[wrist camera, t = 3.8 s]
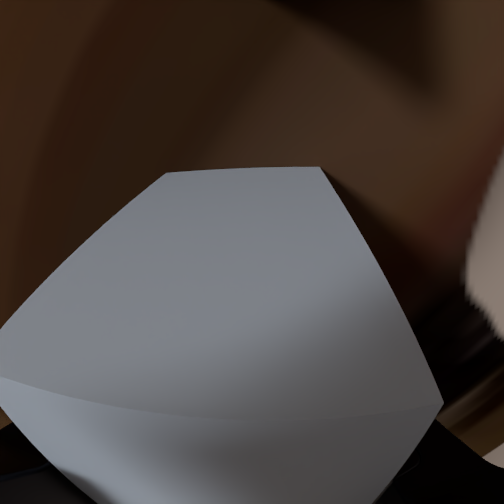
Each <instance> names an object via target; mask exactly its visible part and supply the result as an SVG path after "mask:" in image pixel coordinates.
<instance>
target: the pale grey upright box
mask: <svg viewBox="0 0 504 504" xmlns="http://www.w3.org/2000/svg"><path fill="white" fill-rule="evenodd" d="M443 404H444V402H443V399H442V397H441V394H440V392H439V389H438V387H437V385H436V382H435V380H434V377H433V375H432V373H431V370H430V368H429V366H428V364H427V361H426V359H425V357H424V355H423V352H422V350H421V348H420V346H419V344H418V342H417V339H416V337H415V335H414V333H413V331H412V329H411V327H410V325H409V323H408V321H407V319H406V316H405V314H404V312H403V310H402V308H401V306H400V304H399V302H398V301H397V299H396V297H395V295H394V293H393V291H392V289H391V287H390V285H389V283H388V281H387V279H386V278H385V276H384V274H383V272H382V270H381V268H380V266H379V265H378V263H377V261H376V259H375V257H374V256H373V254H372V252H371V250H370V248H369V247H368V245H367V243H366V241H365V240H364V238H363V236H362V235H361V233H360V231H359V229H358V228H357V226H356V224H355V223H354V221H353V219H352V218H351V216H350V214H349V213H348V211H347V209H346V208H345V206H344V204H343V203H342V201H341V200H340V198H339V196H338V195H337V193H336V192H335V190H334V188H333V187H332V185H331V184H330V182H329V181H328V179H327V178H326V176H325V174H324V173H323V171H322V170H321V168H320V167H267V168H238V169H217V170H200V171H186V172H173V173H166V174H164V175H163V176H162V177H160V178H159V179H158V180H157V181H155V182H154V183H153V184H152V185H150V186H149V187H148V188H147V189H145V190H144V191H143V192H142V193H140V194H139V195H138V196H137V197H136V198H134V199H133V200H132V201H131V202H130V203H128V204H127V205H126V206H125V207H124V208H123V209H121V210H120V211H119V212H118V213H117V214H116V215H114V216H113V217H112V218H111V219H110V220H109V221H107V222H106V223H105V224H104V225H103V226H102V227H101V228H100V229H98V230H97V231H96V232H95V233H94V234H93V235H92V236H91V237H90V238H89V239H87V240H86V241H85V242H84V243H83V244H82V245H81V246H80V247H79V248H78V249H77V250H76V251H75V252H74V253H73V254H71V255H70V256H69V257H68V258H67V259H66V260H65V261H64V262H63V263H62V264H61V265H60V266H59V267H58V268H57V269H56V270H55V271H54V272H53V273H52V274H51V275H50V276H49V277H48V278H47V279H46V280H45V281H44V282H43V283H42V284H41V285H40V286H39V287H38V288H37V289H36V291H35V292H34V293H33V294H32V295H31V296H30V297H29V298H28V299H27V300H26V301H25V302H24V303H23V304H22V306H21V307H20V308H19V309H18V310H17V311H16V312H15V313H14V314H13V315H12V317H11V318H10V319H9V320H8V321H7V322H6V323H5V325H4V326H3V327H2V328H1V329H0V406H1V408H2V409H3V410H4V411H5V413H6V414H7V415H8V416H9V418H10V419H11V420H12V421H13V422H14V424H15V425H16V426H17V427H18V428H19V429H20V431H21V432H22V433H23V434H24V435H25V436H26V437H27V438H28V439H29V441H30V442H31V443H32V444H33V445H34V446H35V447H36V448H37V449H38V450H39V451H40V452H41V453H42V454H43V455H44V456H45V457H46V458H47V459H48V460H49V461H50V462H51V463H52V464H53V465H54V466H55V467H56V468H57V469H58V470H59V471H60V472H61V473H62V474H64V475H65V476H66V477H67V478H68V479H69V480H70V481H71V482H72V483H74V484H75V485H76V486H77V487H78V488H79V489H81V490H82V491H83V492H84V493H85V494H87V495H88V496H89V497H90V498H91V499H93V500H94V501H95V502H97V503H98V504H372V503H373V502H374V500H375V499H376V498H377V497H378V496H379V495H380V493H381V492H382V491H383V490H384V489H385V487H386V486H387V485H388V484H389V482H390V481H391V480H392V479H393V477H394V476H395V475H396V474H397V472H398V471H399V470H400V468H401V467H402V466H403V464H404V463H405V462H406V460H407V459H408V458H409V456H410V455H411V453H412V452H413V451H414V449H415V448H416V446H417V445H418V443H419V442H420V440H421V439H422V437H423V436H424V434H425V433H426V431H427V430H428V428H429V427H430V425H431V423H432V422H433V420H434V419H435V417H436V415H437V414H438V412H439V410H440V409H441V407H442V405H443Z"/></svg>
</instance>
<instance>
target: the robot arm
mask: <svg viewBox="0 0 504 504" xmlns="http://www.w3.org/2000/svg"><path fill="white" fill-rule="evenodd" d="M0 504H98V503H97V502H95V501H94V500H93V499H91V498H90V497H89V496H88V495H87V494H85V493H84V492H83V491H82V490H81V489H79V488H78V487H77V486H76V485H75V484H74V483H72V482H71V481H70V480H69V479H68V478H67V477H66V476H65V475H64V474H62V473H61V472H60V471H59V470H58V469H57V468H56V467H55V466H54V465H53V464H52V463H51V462H50V461H49V460H48V459H47V458H46V457H45V456H44V455H43V454H42V453H41V452H40V451H39V450H38V449H37V448H36V447H35V446H34V445H33V444H32V443H31V442H30V441H29V439H28V438H27V437H26V436H25V435H24V434H23V433H22V432H21V431H20V429H19V428H18V427H17V426H16V425H15V424H14V422H12V423H10V424H9V425H7V426H5V427H4V428H2V429H1V430H0ZM372 504H504V468H501V467H498V466H495V465H493V464H491V463H489V462H488V461H486V460H485V459H483V458H482V457H480V456H479V455H478V454H477V453H476V452H474V451H473V450H472V449H471V448H469V447H468V446H467V445H466V444H464V443H463V442H462V441H461V440H460V439H458V438H457V437H456V436H455V435H453V434H452V433H451V432H450V431H449V430H447V429H446V428H445V427H444V426H443V425H442V424H441V423H439V422H438V421H437V420H436V419H434V420H433V422H432V423H431V425H430V427H429V428H428V430H427V431H426V433H425V434H424V436H423V437H422V439H421V440H420V442H419V443H418V445H417V446H416V448H415V449H414V451H413V452H412V453H411V455H410V456H409V458H408V459H407V460H406V462H405V463H404V464H403V466H402V467H401V468H400V470H399V471H398V472H397V474H396V475H395V476H394V477H393V479H392V480H391V481H390V482H389V484H388V485H387V486H386V487H385V489H384V490H383V491H382V492H381V493H380V495H379V496H378V497H377V498H376V499H375V500H374V502H373V503H372Z"/></svg>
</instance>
